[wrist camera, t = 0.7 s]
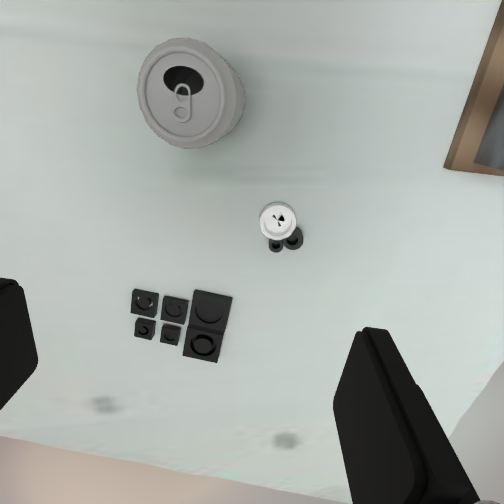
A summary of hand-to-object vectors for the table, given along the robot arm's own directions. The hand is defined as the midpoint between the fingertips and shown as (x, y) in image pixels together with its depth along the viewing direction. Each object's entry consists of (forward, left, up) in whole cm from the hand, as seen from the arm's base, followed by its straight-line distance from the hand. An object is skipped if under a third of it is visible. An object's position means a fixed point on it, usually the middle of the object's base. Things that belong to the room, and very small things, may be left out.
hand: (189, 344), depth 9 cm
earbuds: (+15, -3, -30) cm, 34 cm away
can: (-6, -5, -30) cm, 31 cm away
